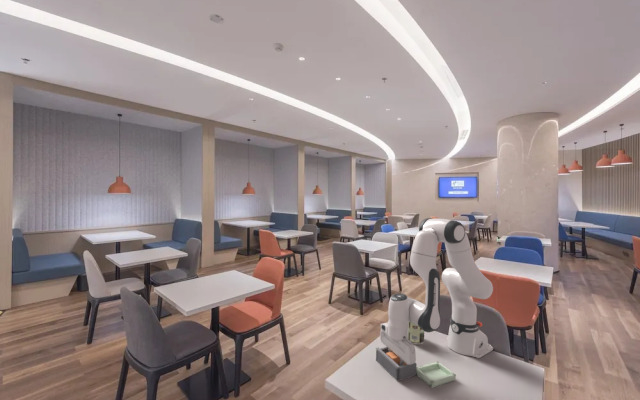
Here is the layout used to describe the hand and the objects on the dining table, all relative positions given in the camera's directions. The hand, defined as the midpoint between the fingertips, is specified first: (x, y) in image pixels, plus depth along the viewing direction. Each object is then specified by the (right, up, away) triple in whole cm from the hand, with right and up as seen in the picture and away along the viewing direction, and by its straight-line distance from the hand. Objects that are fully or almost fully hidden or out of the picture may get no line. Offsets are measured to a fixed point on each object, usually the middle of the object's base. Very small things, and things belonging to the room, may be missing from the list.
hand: (396, 362), depth 123 cm
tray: (+15, -3, -6) cm, 16 cm away
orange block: (0, -2, 0) cm, 2 cm away
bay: (-1, -2, 0) cm, 2 cm away
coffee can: (+16, -2, +24) cm, 29 cm away
